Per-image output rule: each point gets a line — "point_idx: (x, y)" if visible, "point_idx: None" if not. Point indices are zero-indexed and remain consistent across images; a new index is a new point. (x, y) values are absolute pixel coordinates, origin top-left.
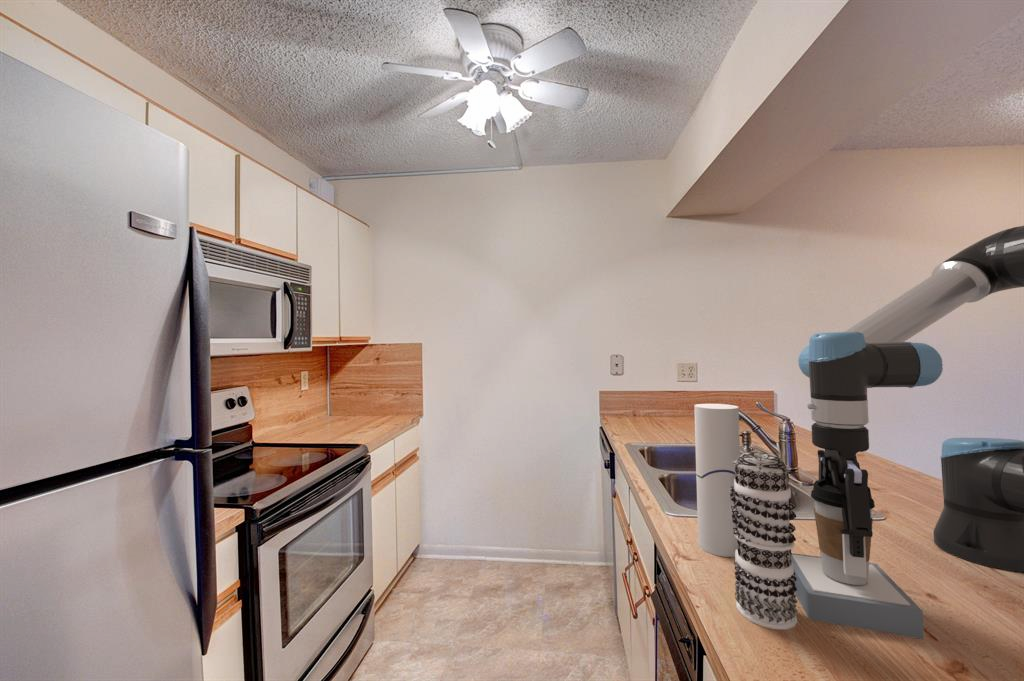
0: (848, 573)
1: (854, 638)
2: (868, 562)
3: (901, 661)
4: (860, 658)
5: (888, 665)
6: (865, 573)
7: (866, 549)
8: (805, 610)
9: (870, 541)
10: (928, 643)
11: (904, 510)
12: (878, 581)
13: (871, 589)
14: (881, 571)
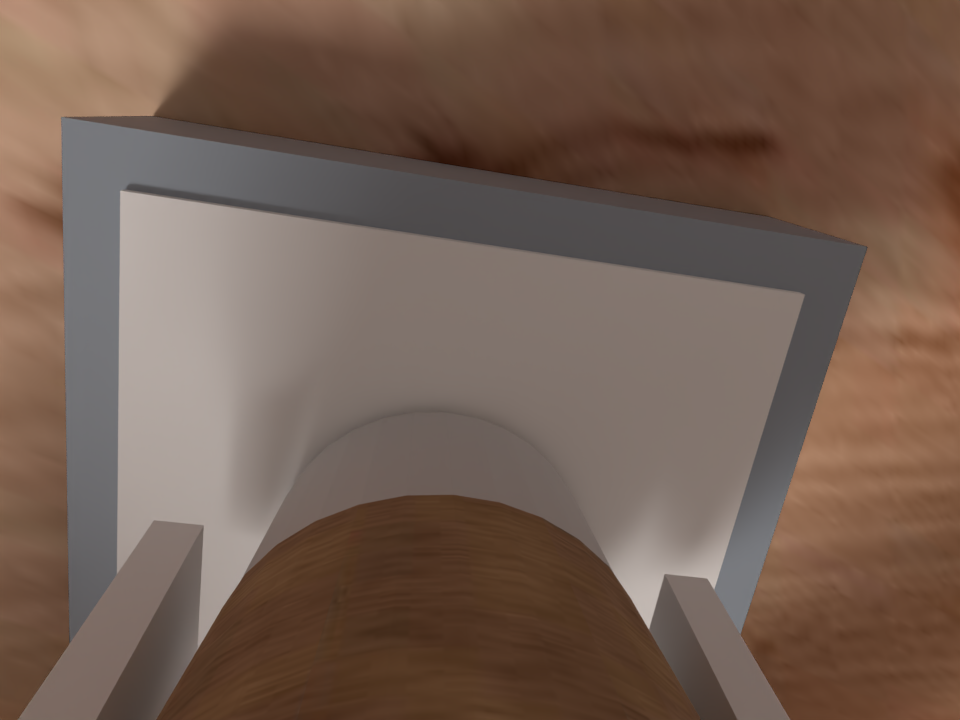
0: None
1: (772, 565)
2: (573, 530)
3: (935, 450)
4: (909, 607)
5: (957, 520)
6: (721, 610)
7: (686, 695)
8: None
9: (662, 697)
10: (804, 217)
11: None
12: (471, 327)
13: (606, 449)
14: (237, 171)
